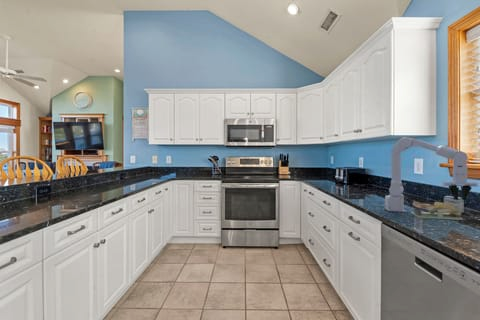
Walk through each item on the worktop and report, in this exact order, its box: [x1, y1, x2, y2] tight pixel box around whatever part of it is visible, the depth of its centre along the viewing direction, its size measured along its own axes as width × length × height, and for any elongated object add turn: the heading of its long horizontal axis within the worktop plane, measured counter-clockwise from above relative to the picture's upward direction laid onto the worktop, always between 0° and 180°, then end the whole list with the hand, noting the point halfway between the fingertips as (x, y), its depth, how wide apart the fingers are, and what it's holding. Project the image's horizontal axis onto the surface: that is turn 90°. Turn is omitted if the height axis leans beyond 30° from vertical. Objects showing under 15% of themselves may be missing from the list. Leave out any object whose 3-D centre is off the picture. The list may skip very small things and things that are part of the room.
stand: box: [410, 208, 464, 221], centre depth 135 cm, size 20×11×5 cm, turn 73°
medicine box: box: [443, 195, 465, 214], centre depth 145 cm, size 8×4×9 cm, turn 27°
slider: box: [433, 201, 452, 210], centre depth 134 cm, size 6×5×3 cm
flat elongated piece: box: [412, 201, 462, 216], centre depth 135 cm, size 19×9×2 cm, turn 74°
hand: (459, 199), depth 132 cm, fingers open, 3 cm apart
